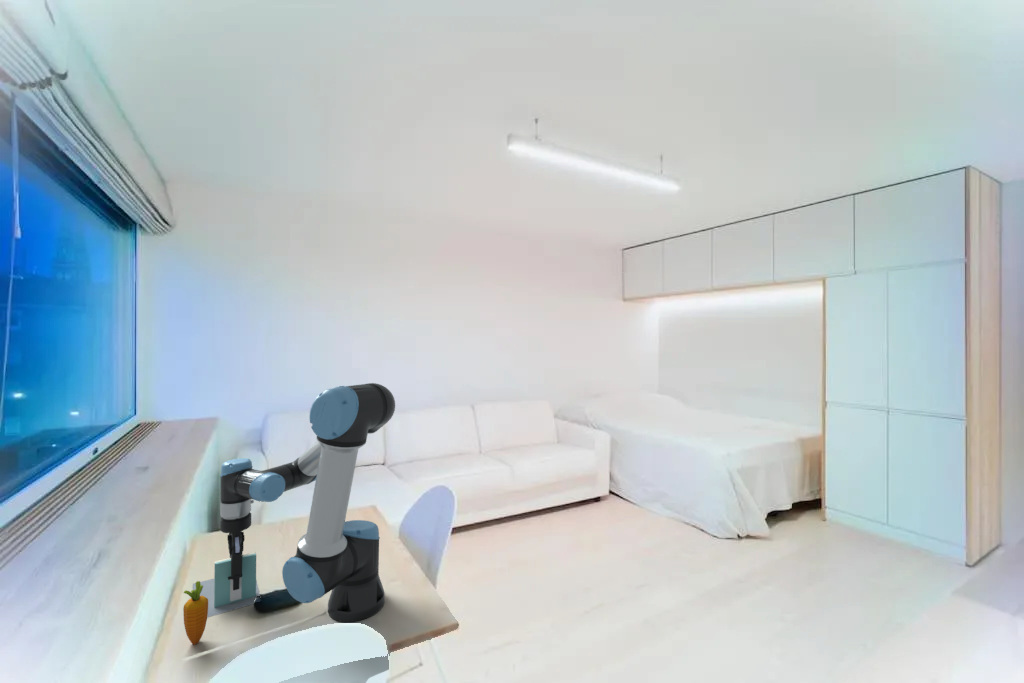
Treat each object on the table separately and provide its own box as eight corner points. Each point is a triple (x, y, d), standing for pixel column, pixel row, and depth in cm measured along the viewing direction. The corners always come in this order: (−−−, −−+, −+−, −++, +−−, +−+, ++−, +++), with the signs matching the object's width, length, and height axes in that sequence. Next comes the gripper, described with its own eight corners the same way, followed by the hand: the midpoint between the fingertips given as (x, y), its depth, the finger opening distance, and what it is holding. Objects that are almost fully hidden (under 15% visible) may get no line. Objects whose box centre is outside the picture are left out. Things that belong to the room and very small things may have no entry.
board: (255, 596, 129) (256, 554, 129) (214, 607, 123) (214, 564, 123) (255, 592, 130) (255, 551, 130) (214, 604, 124) (214, 561, 124)
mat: (261, 603, 126) (261, 601, 126) (191, 624, 117) (191, 621, 117) (253, 570, 144) (253, 568, 144) (192, 585, 135) (192, 583, 135)
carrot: (195, 653, 106) (196, 590, 106) (177, 650, 107) (178, 588, 107) (212, 639, 111) (213, 579, 111) (195, 637, 112) (196, 577, 112)
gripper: (254, 520, 122) (253, 605, 122) (248, 503, 135) (248, 581, 135) (221, 526, 118) (220, 615, 118) (219, 508, 130) (218, 588, 131)
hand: (235, 596), depth 126 cm, fingers open, 2 cm apart
